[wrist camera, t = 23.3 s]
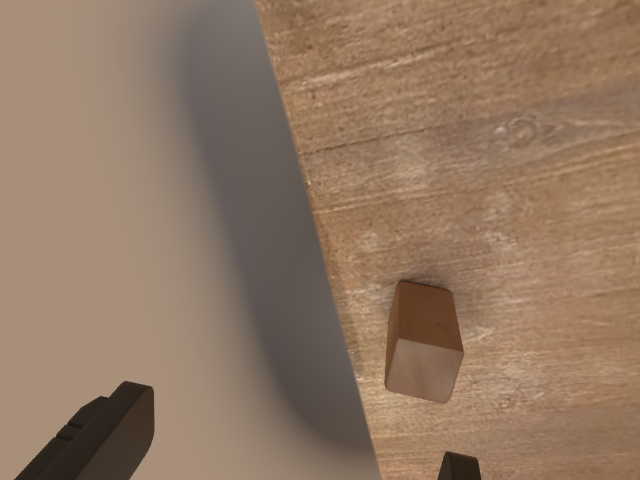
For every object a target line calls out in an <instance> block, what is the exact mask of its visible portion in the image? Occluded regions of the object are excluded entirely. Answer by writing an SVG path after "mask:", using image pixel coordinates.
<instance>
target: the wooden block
mask: <svg viewBox="0 0 640 480" xmlns="http://www.w3.org/2000/svg"><path fill="white" fill-rule="evenodd" d="M463 356H464V351H463V346H462V341H461V336H460V331H459V326H458V321H457V316H456V311H455V307H454V302H453V297H452V293H451V292H449V291H448V290H443V289H438V288H433V287H428V286H423V285H419V284H414V283H409V282H404V281H401V282H399V283H398V285H397V288H396V292H395V296H394V300H393V305H392V309H391V313H390V317H389V321H388V334H387V350H386V366H385V382H384V383H385V388H386V389H387V390H388V391H391V392H395V393H399V394H403V395H408V396H412V397H416V398H421V399H425V400H429V401H434V402H438V403H442V404H444V403H447V402H448V401H449V400H450V397H451V394H452V391H453V388H454V385H455V382H456V378H457V375H458V372H459V369H460V366H461V363H462V359H463Z"/></svg>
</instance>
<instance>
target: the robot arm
mask: <svg viewBox="0 0 640 480" xmlns="http://www.w3.org/2000/svg"><path fill="white" fill-rule="evenodd" d="M153 435H154V391H153V388H152V387H151V386H146V385H142V384H137V383H133V382H128V381H125V382H123V383H121V385H120V386H119V387H118V388H117V389H116V390H115V391H114V392H113V393H112V395H111V396H110V397H109V398H107V397H102V396H100V397H98V398H96V399H95V400H93V401H92V402H90V403H88V404H86V405H85V406H83V407H81V408H80V410H79V411H78V412H77V413H76V414H75V415H74V416H73V417H72V418H71V419H70V420H69V422H68V424H67V425H65V426H64V427H63V428H62V429H61V430H60V431H59V432H58V433H57V435H56V437H55V438H53V439H52V440H51V441H50V442H49V443H48V444H47V445H46V446H45V447H44V448H43V449H42V450H41V451H40V452H39V454H38V455H37V456H36V457H35V458H34V459H33V460H32V461H31V462H30V463H29V464H28V465H27V466H26V468H25V469H24V470H23V471H22V472H21V473H20V474H19V475H18V476H17V477H16V479H14V480H129V479H130V478H131V476H132V475H133V473H134V472H135V470H136V469H137V467H138V466H139V464H140V463H141V461H142V459H143V458H144V457H145V455H146V453H147V451H148V450H149V447H150V445H151V442H152V440H153ZM437 480H481V475H480V470H479V464H478V460H477V458H476V457H472V456H467V455H463V454H458V453H453V452H449V451H446V453H445V455H444V458H443V462H442V465H441V469H440V472H439V476H438V479H437Z"/></svg>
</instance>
